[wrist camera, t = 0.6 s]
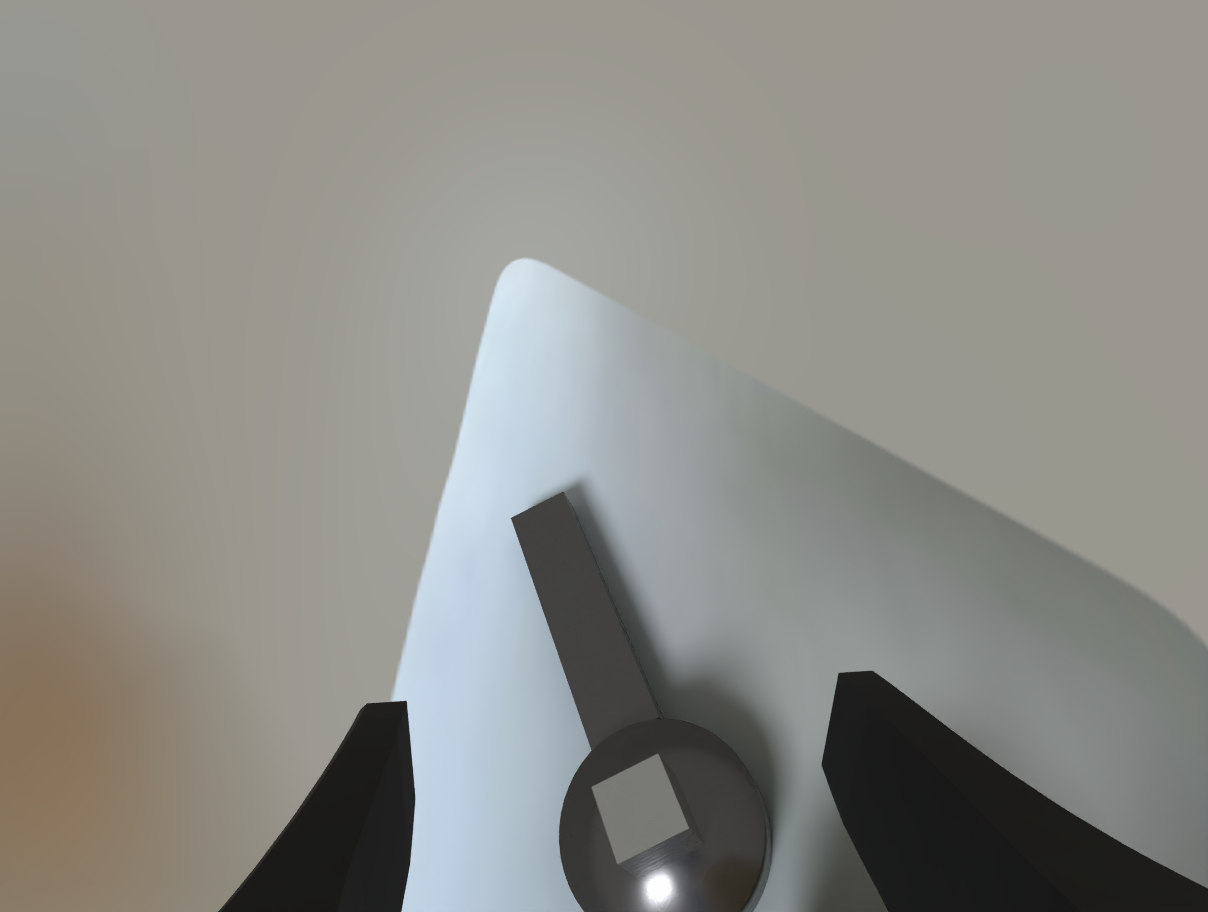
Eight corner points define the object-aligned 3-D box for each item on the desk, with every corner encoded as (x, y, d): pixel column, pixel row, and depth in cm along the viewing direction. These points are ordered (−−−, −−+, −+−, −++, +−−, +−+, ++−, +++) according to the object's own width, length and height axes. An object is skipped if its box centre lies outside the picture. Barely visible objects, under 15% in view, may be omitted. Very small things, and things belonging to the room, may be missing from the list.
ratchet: (811, 898, 24) (797, 874, 21) (617, 995, 24) (572, 986, 21) (610, 488, 37) (582, 433, 33) (484, 552, 37) (442, 503, 33)
